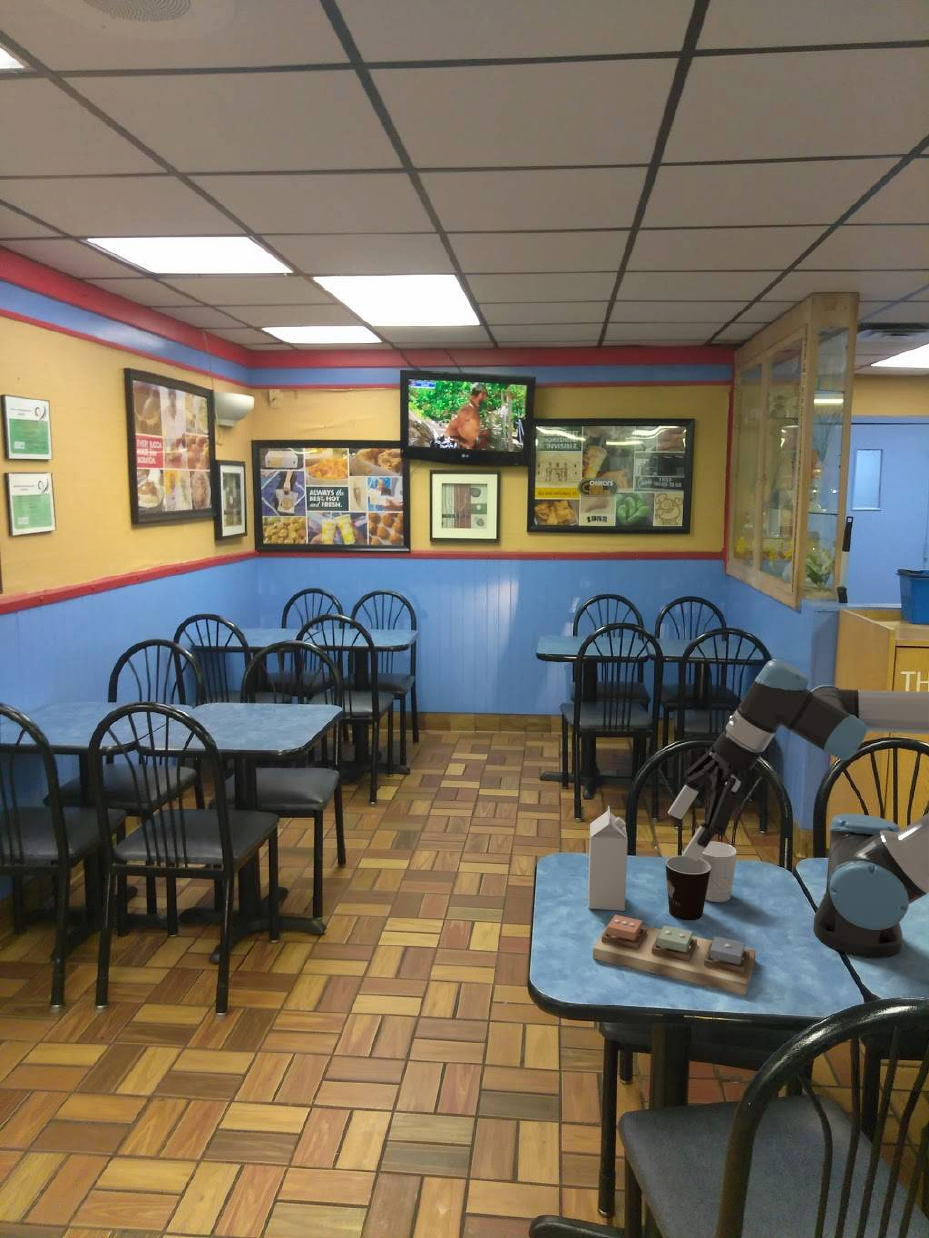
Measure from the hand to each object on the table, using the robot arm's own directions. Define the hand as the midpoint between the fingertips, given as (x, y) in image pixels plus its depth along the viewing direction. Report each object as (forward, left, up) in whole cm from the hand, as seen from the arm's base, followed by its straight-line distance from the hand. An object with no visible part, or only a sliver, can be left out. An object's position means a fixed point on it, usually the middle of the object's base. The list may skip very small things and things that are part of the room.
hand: (681, 835), depth 160 cm
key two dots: (-1, +8, -17) cm, 19 cm away
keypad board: (-1, +8, -20) cm, 21 cm away
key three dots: (+8, +8, -17) cm, 20 cm away
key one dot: (-10, +8, -17) cm, 21 cm away
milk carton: (+16, -8, -20) cm, 27 cm away
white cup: (-3, -21, -20) cm, 29 cm away
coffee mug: (+1, -12, -20) cm, 23 cm away
